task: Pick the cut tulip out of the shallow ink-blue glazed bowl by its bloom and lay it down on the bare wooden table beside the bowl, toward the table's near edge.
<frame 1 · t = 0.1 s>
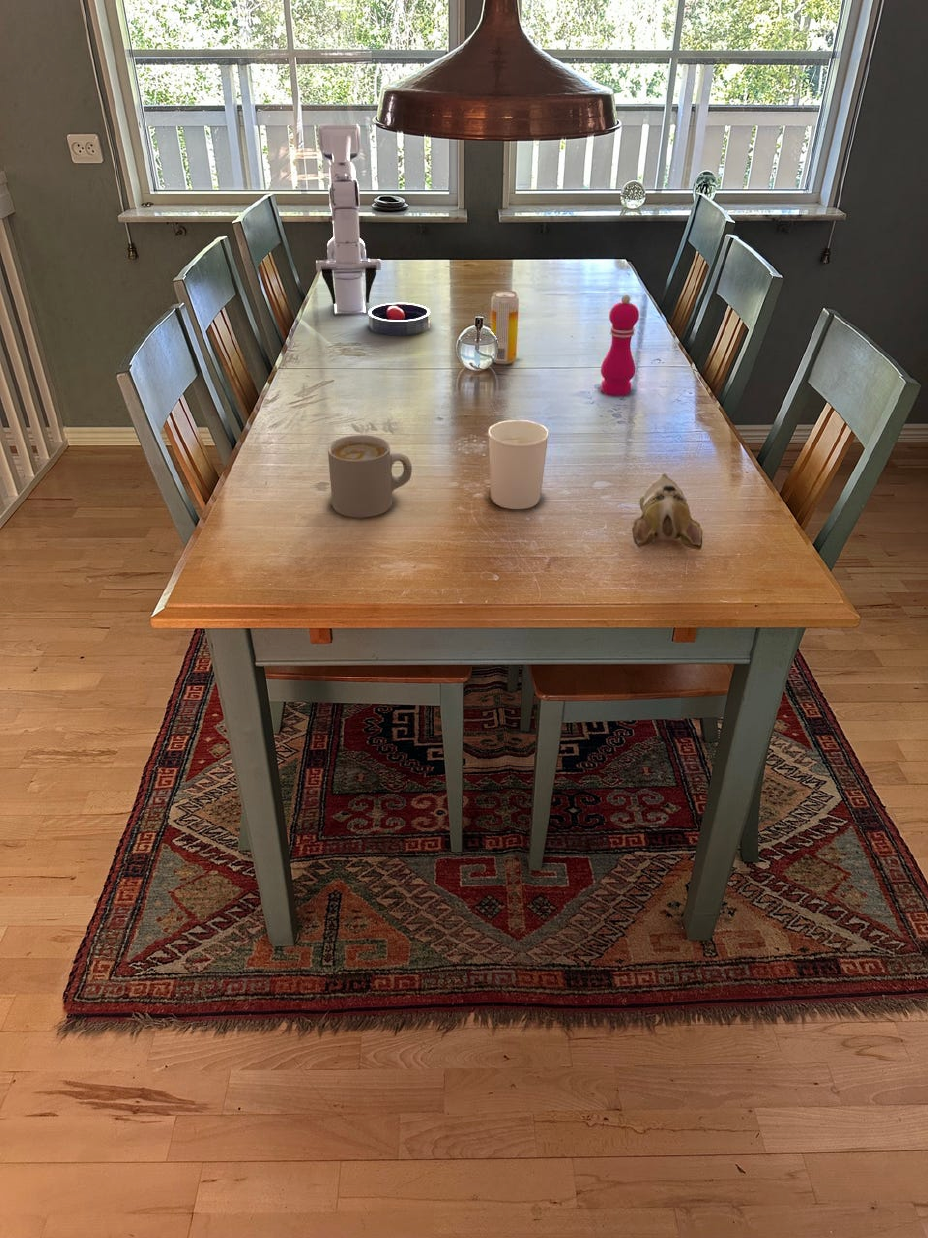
hand: (350, 302, 208), 10 cm above the table, tool pointing down, fingers open, 7 cm apart
bowl: (399, 327, 225), on the table
beer can: (503, 361, 206), on the table
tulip: (395, 323, 226), resting on bowl
coffee mug: (372, 503, 149), on the table
white cup: (515, 499, 151), on the table
ceramic sculpture: (662, 536, 141), on the table
pepper mill: (615, 391, 192), on the table
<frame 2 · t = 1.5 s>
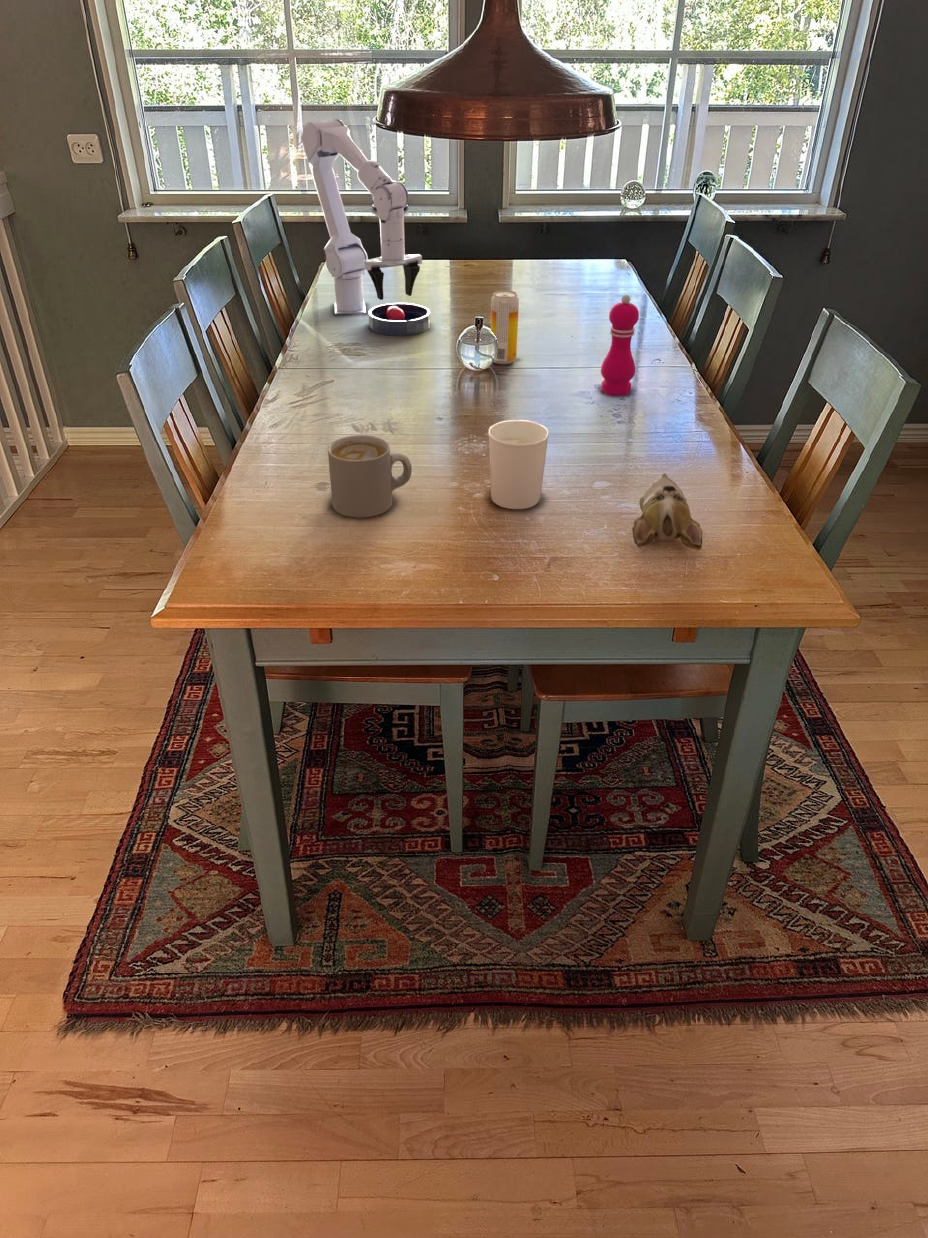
hand: (394, 296, 222), 7 cm above the table, tool pointing down, fingers open, 7 cm apart
nothing on the table moved.
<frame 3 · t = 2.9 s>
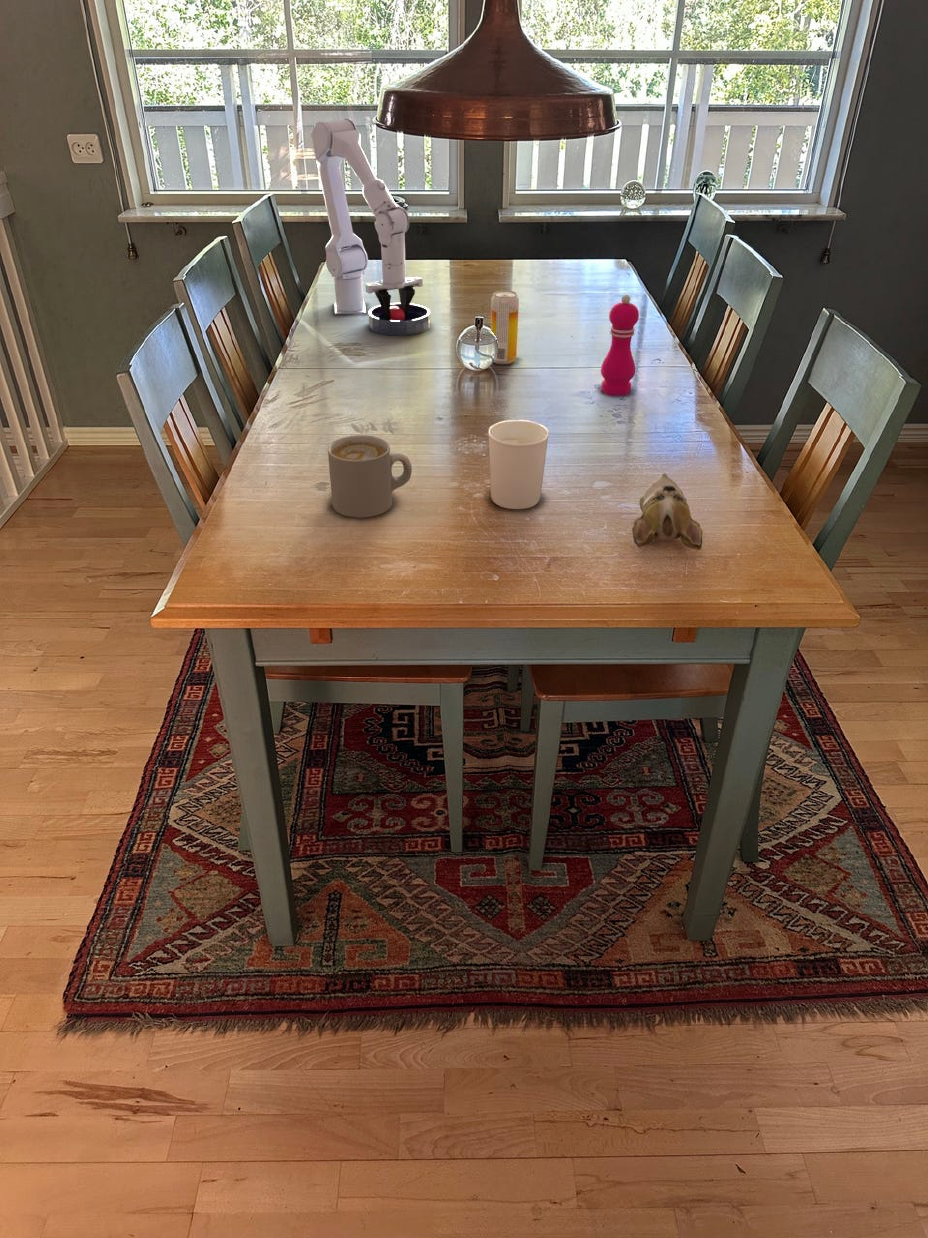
hand: (395, 318, 226), 2 cm above the table, tool pointing down, fingers closed on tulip, 4 cm apart
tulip: (395, 323, 226), resting on bowl, touching gripper
everything else where it was.
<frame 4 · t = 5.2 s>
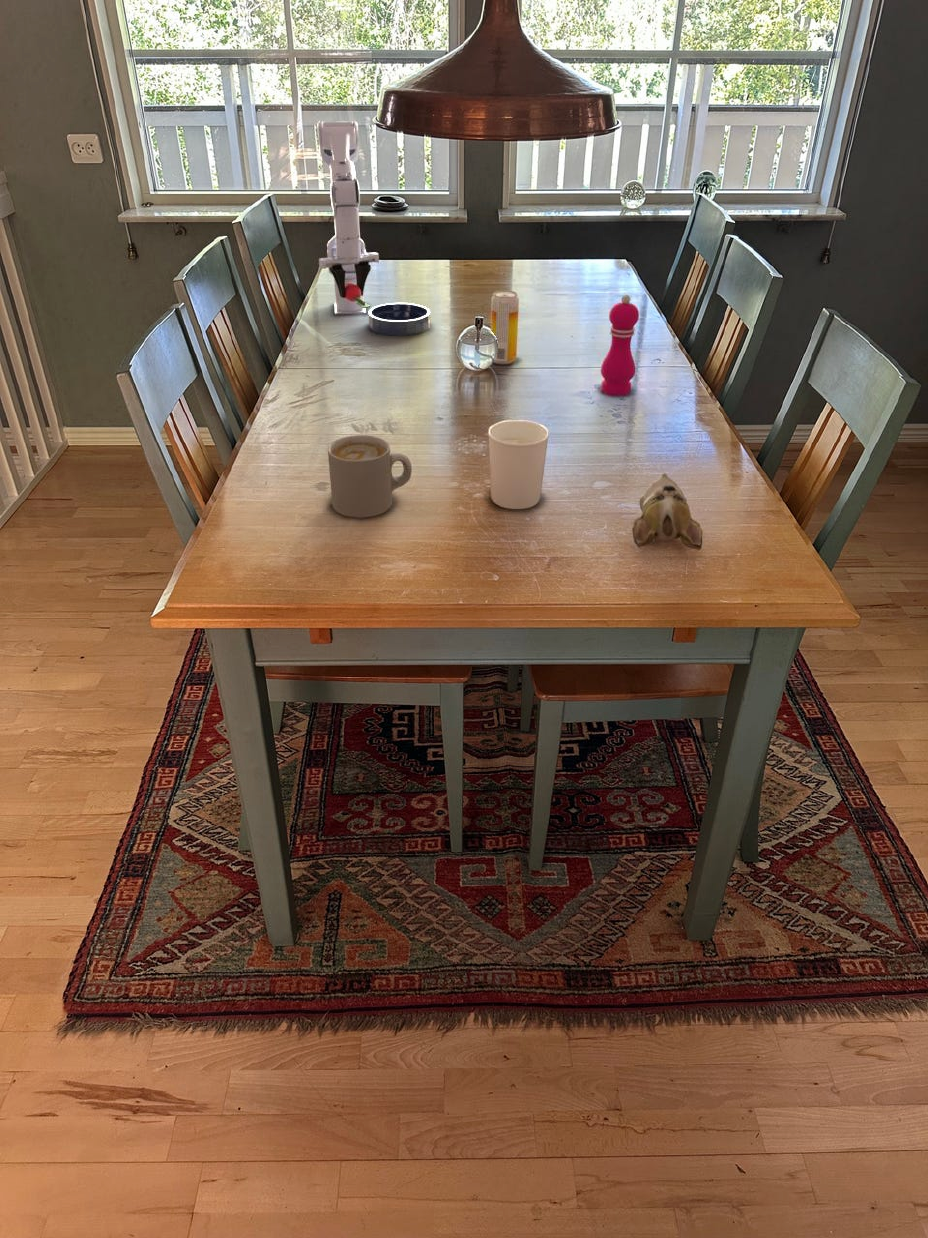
hand: (351, 295, 218), 8 cm above the table, tool pointing down, fingers closed on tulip, 4 cm apart
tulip: (351, 300, 219), point 7 cm above the table, touching gripper
everything else where it was.
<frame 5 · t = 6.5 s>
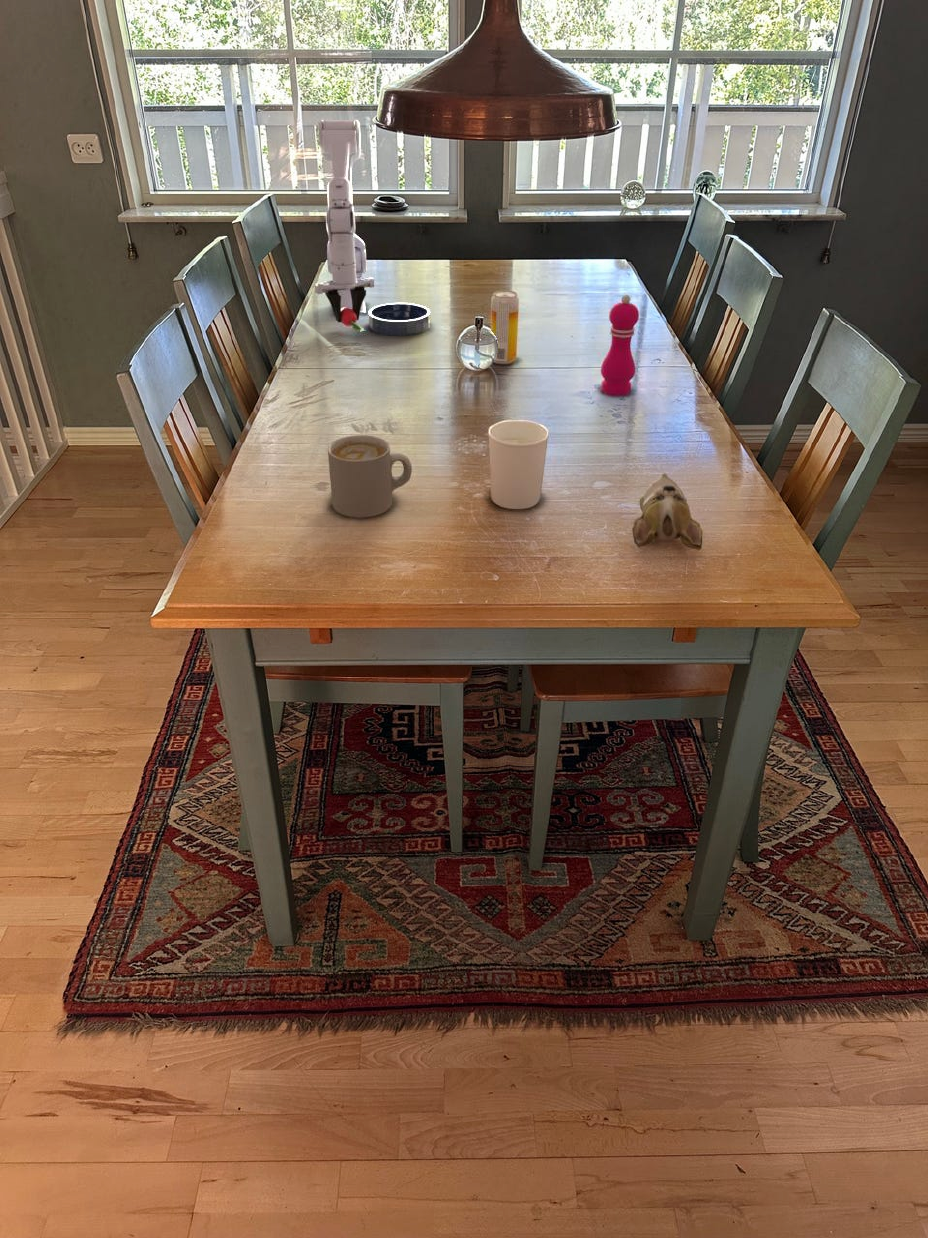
hand: (347, 319, 221), 3 cm above the table, tool pointing down, fingers closed on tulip, 4 cm apart
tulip: (347, 324, 222), point 2 cm above the table, touching gripper
everything else where it was.
when the fingers open (1 cm above the table, at t = 7.4 s): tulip stays where it is, on the table.
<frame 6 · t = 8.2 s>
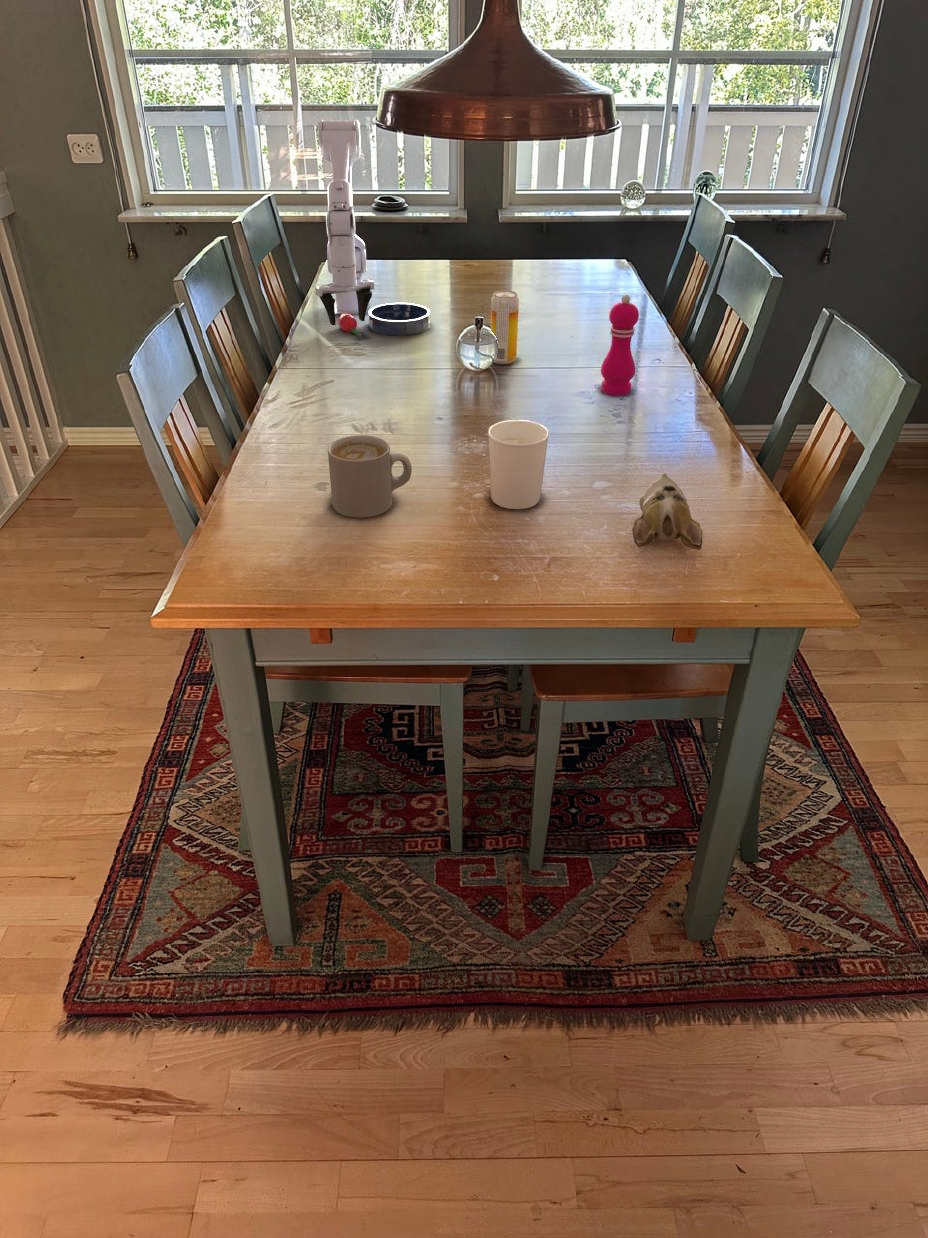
hand: (347, 322, 221), 2 cm above the table, tool pointing down, fingers open, 7 cm apart
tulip: (348, 330, 222), on the table
everything else where it was.
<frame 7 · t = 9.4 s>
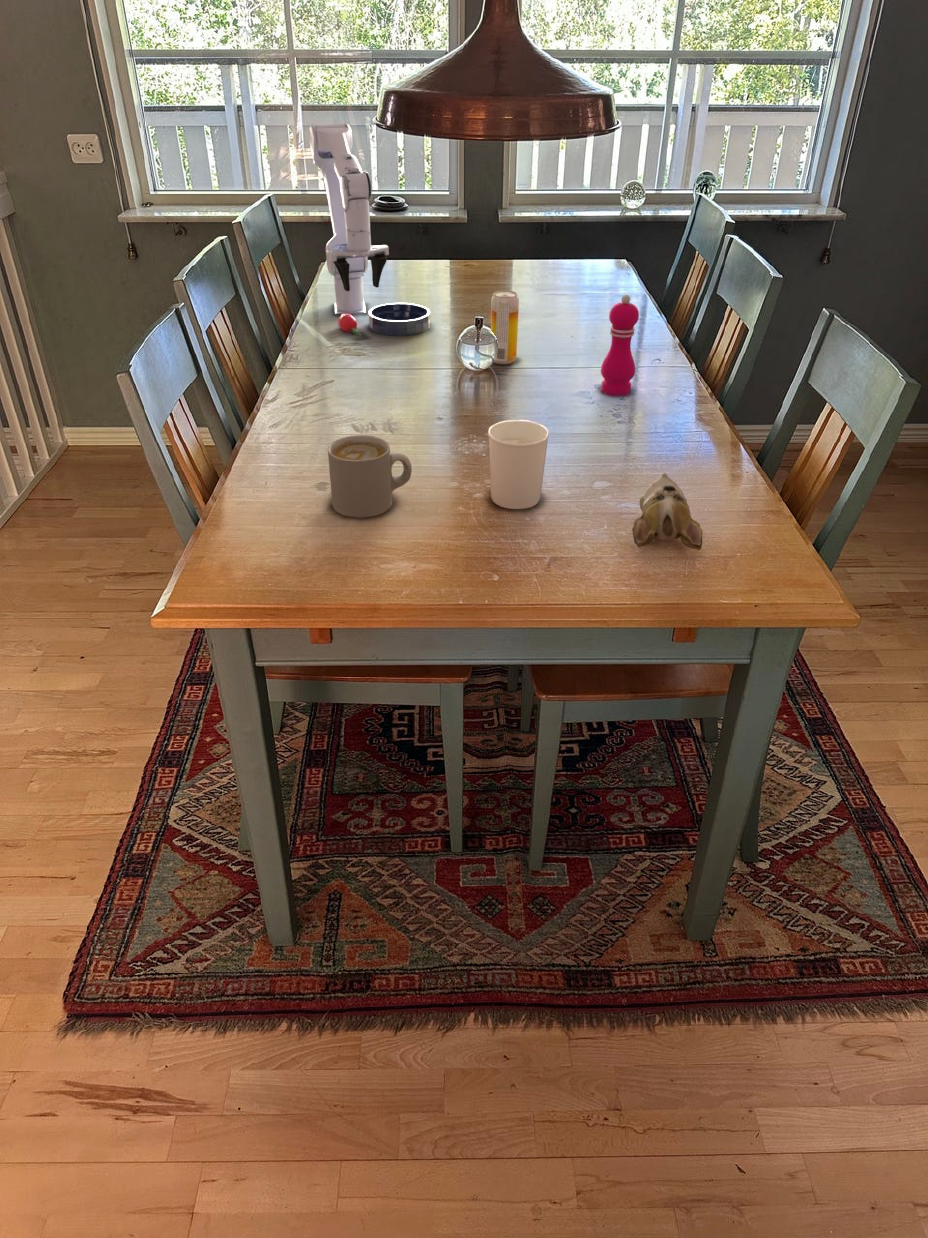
hand: (361, 288, 220), 9 cm above the table, tool pointing down, fingers open, 7 cm apart
nothing on the table moved.
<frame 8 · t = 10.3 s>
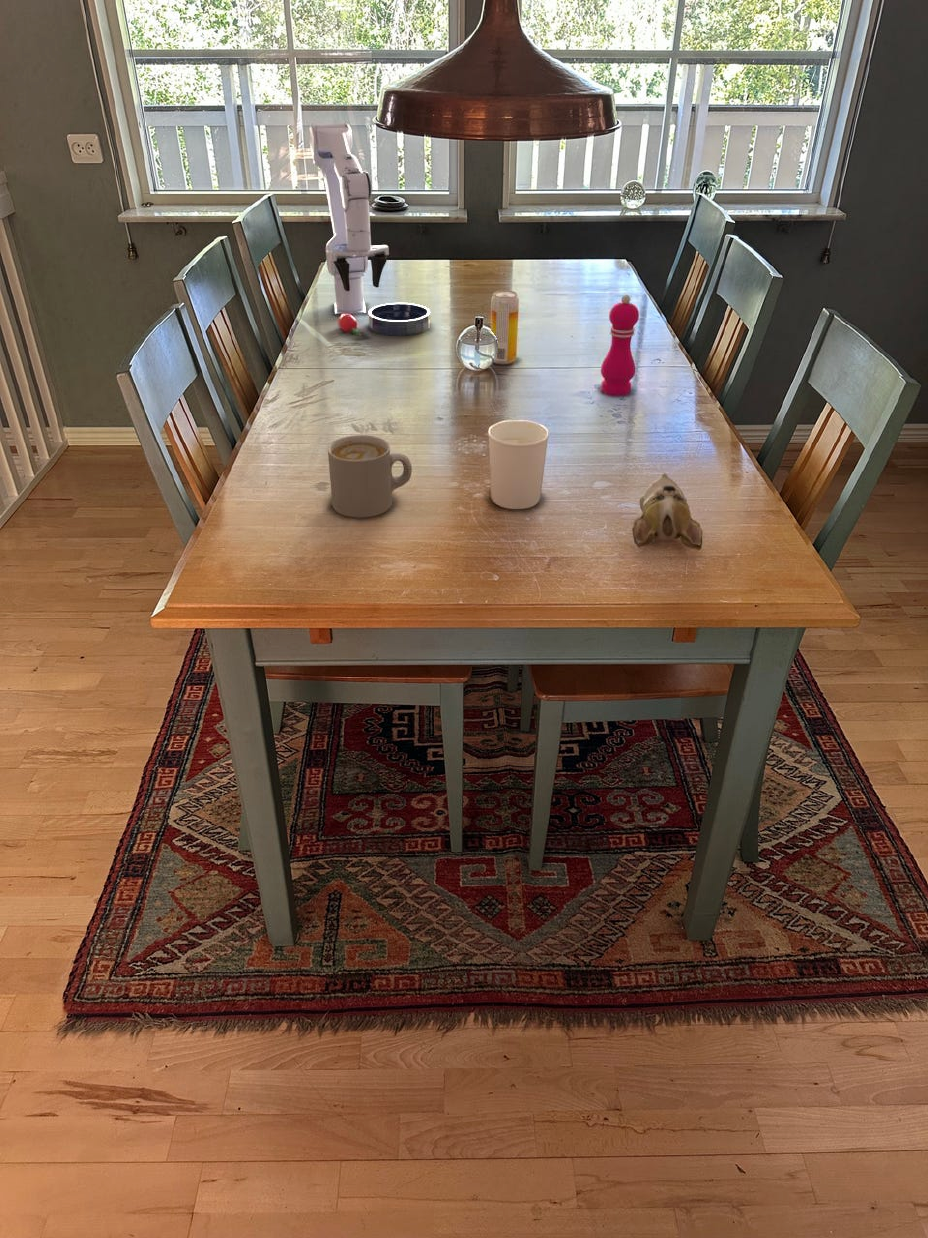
hand: (361, 288, 220), 9 cm above the table, tool pointing down, fingers open, 7 cm apart
nothing on the table moved.
at the end: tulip inside the target area (0.1 cm from its centre), on the table; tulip touching table; the gripper is holding nothing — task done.
